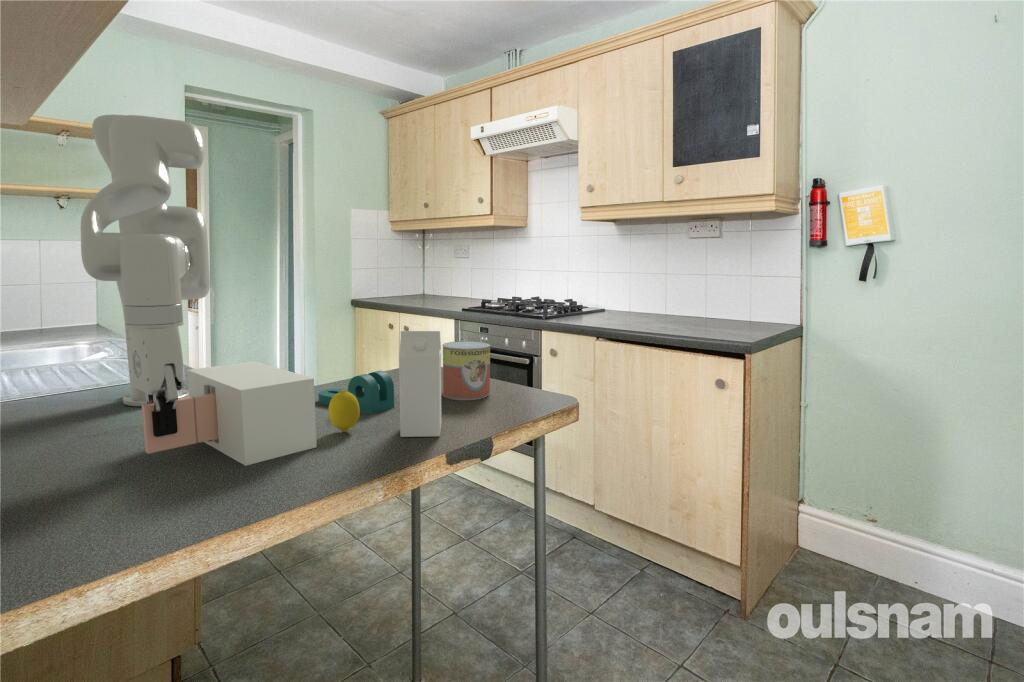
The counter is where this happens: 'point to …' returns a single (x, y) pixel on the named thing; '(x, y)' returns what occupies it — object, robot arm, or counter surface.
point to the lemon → (344, 410)
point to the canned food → (466, 370)
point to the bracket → (367, 392)
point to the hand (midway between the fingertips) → (163, 432)
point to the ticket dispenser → (258, 410)
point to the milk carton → (420, 383)
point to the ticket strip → (184, 423)
